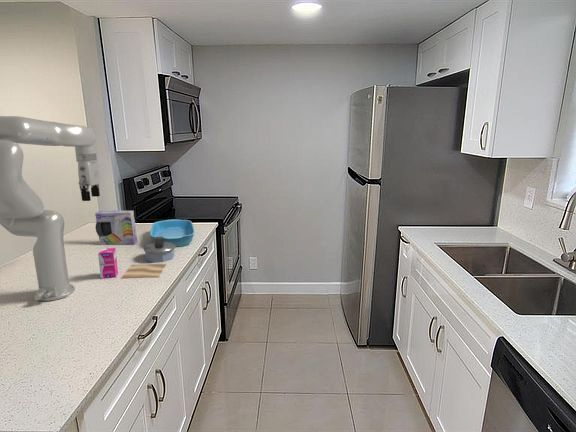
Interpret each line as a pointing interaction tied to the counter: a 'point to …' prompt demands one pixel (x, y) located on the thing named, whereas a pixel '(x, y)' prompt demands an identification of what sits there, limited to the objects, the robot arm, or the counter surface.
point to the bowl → (159, 256)
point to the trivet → (144, 271)
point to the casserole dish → (173, 231)
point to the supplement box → (108, 263)
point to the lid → (159, 246)
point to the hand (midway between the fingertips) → (91, 198)
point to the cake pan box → (116, 227)
